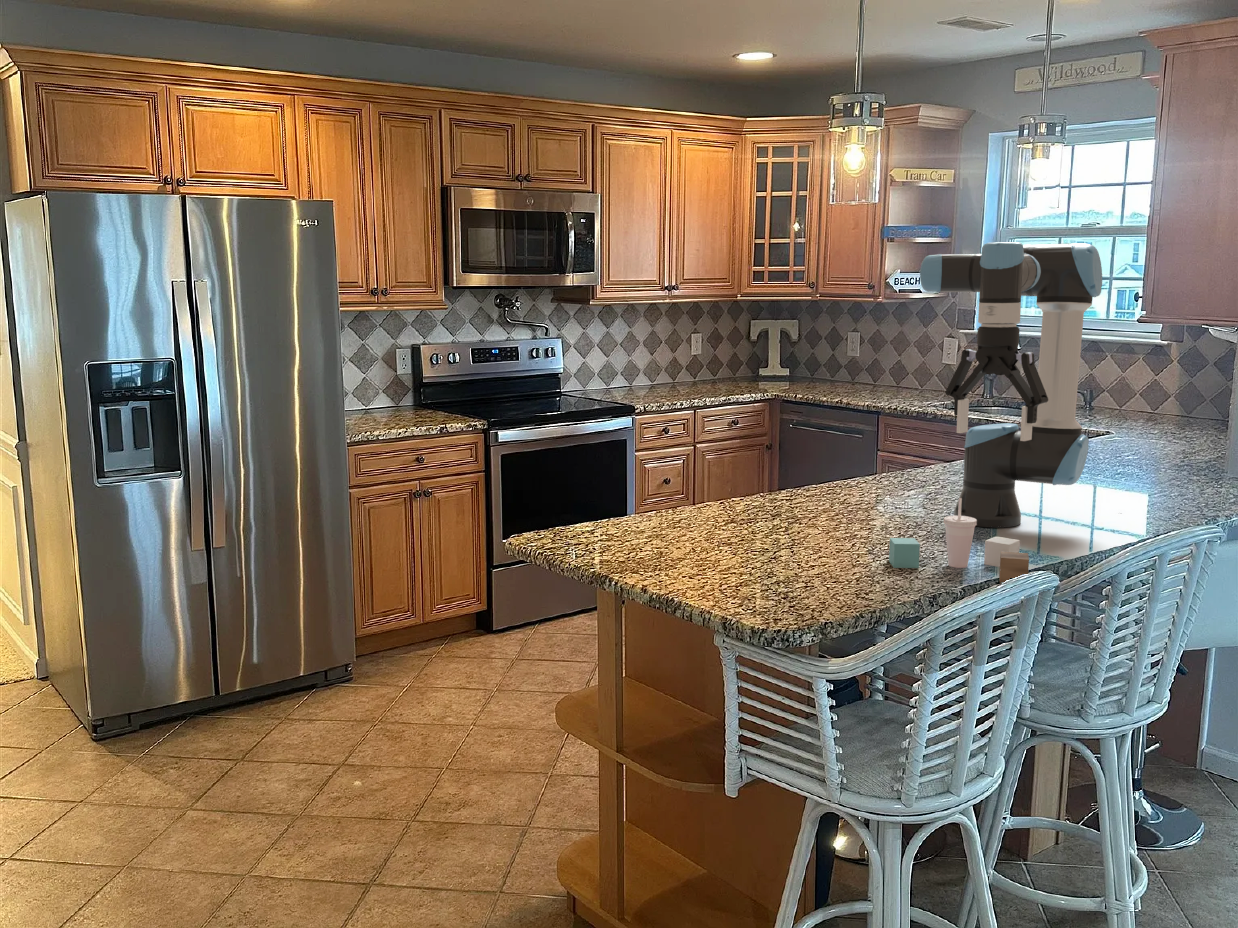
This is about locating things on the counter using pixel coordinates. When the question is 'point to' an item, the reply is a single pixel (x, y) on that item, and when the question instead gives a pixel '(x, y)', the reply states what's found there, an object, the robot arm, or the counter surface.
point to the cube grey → (999, 549)
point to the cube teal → (904, 553)
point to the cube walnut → (1013, 565)
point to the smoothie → (959, 538)
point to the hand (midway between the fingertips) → (993, 436)
